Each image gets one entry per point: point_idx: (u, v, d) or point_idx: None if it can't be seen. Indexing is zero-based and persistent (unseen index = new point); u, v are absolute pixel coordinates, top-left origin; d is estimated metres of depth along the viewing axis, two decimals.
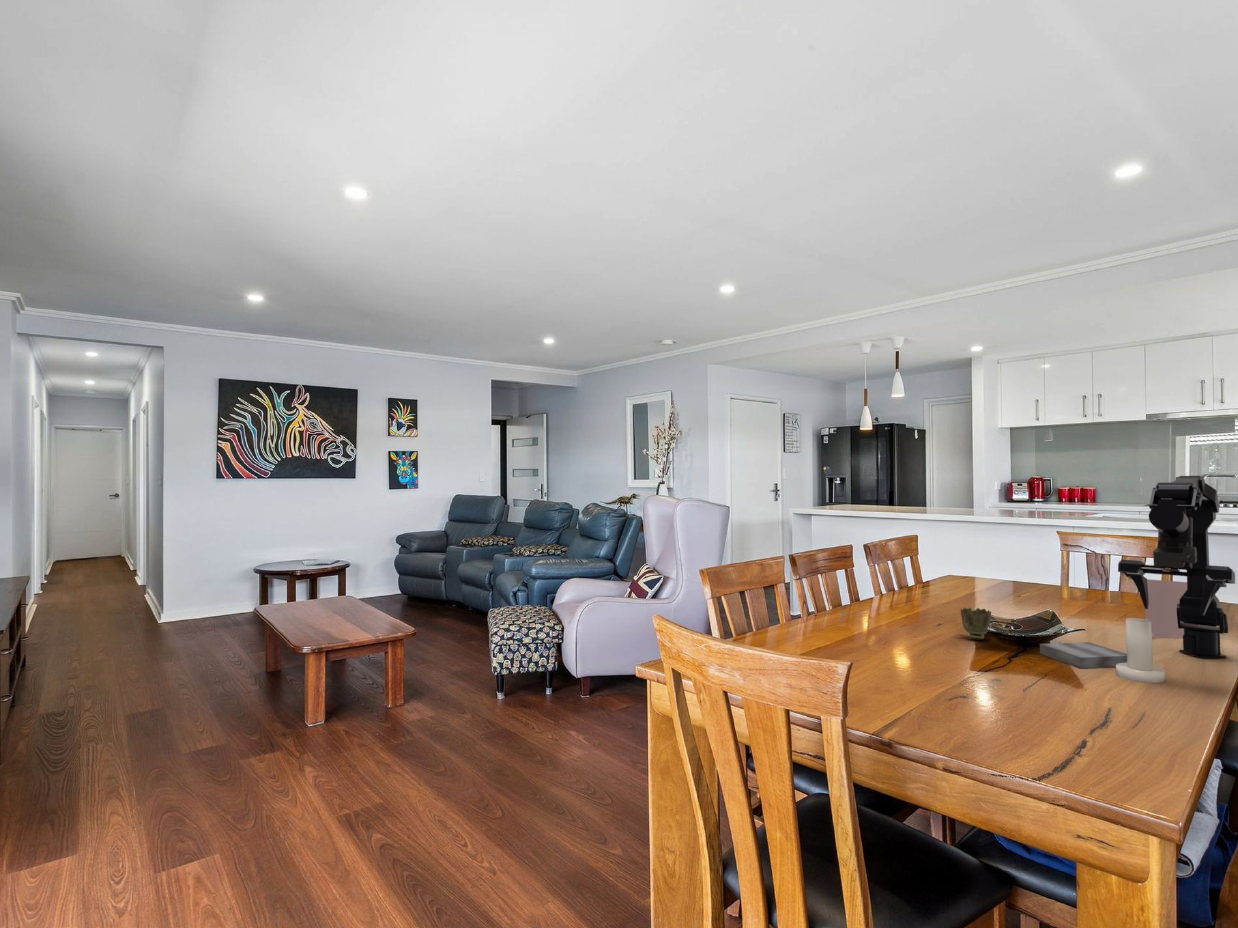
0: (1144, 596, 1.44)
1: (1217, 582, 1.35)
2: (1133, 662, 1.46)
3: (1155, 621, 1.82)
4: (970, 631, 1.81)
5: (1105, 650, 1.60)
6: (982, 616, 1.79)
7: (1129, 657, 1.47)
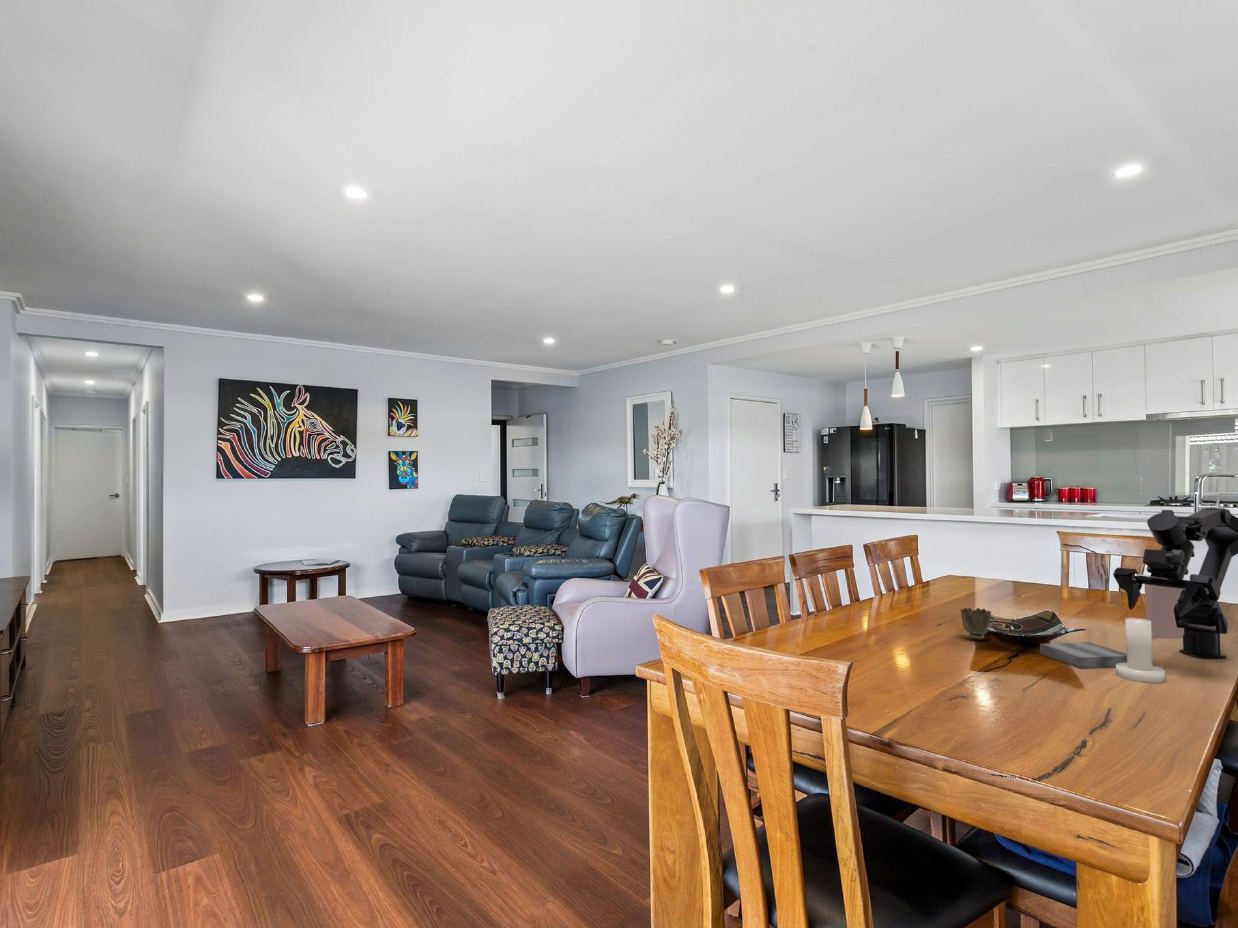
0: (1130, 597, 1.56)
1: (1197, 585, 1.46)
2: (1132, 662, 1.46)
3: (1155, 621, 1.82)
4: (970, 631, 1.81)
5: (1105, 650, 1.60)
6: (982, 616, 1.79)
7: (1129, 657, 1.47)
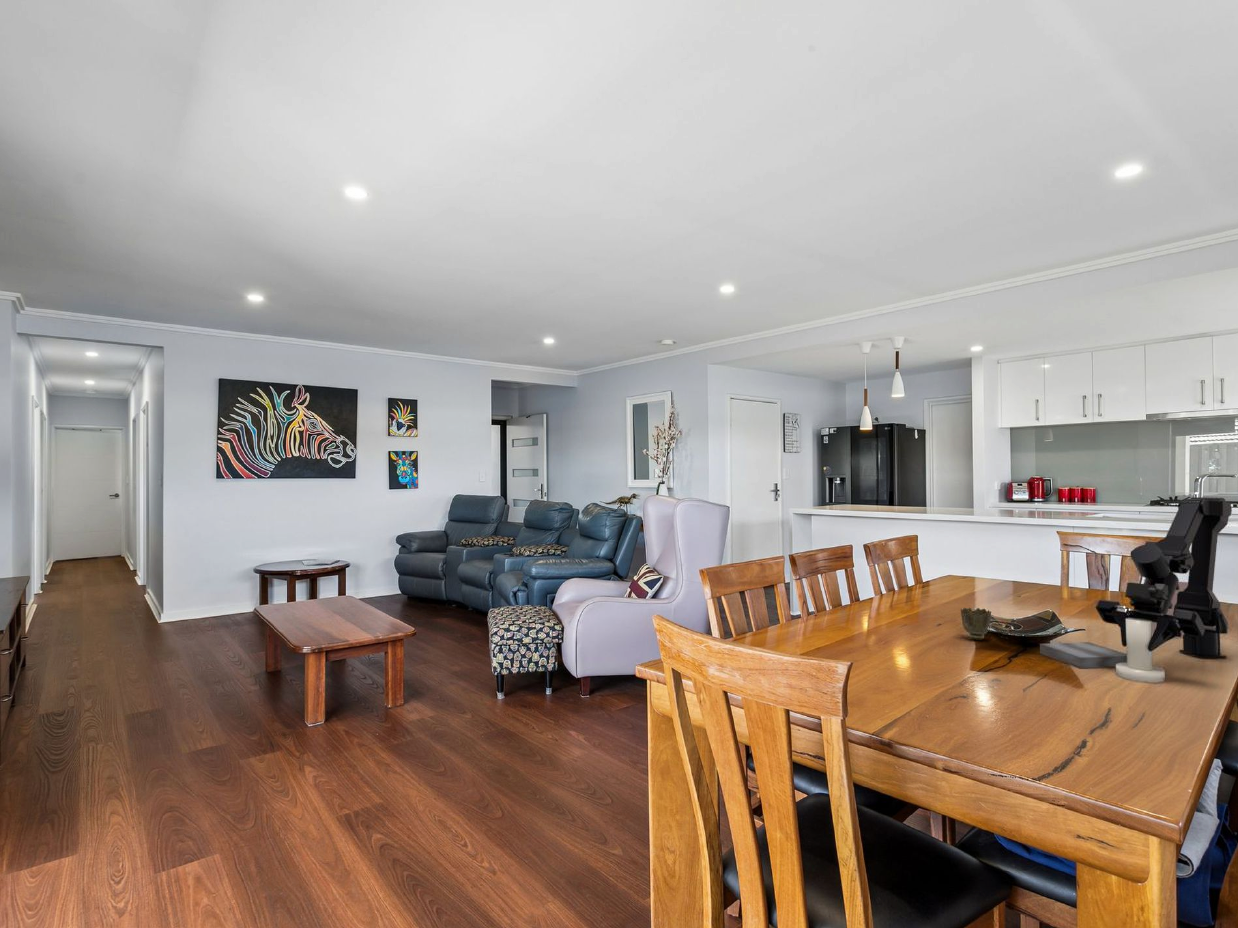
0: (1124, 633, 1.49)
1: (1168, 619, 1.43)
2: (1132, 662, 1.46)
3: None
4: (970, 631, 1.81)
5: (1105, 650, 1.60)
6: (982, 616, 1.79)
7: (1129, 657, 1.47)
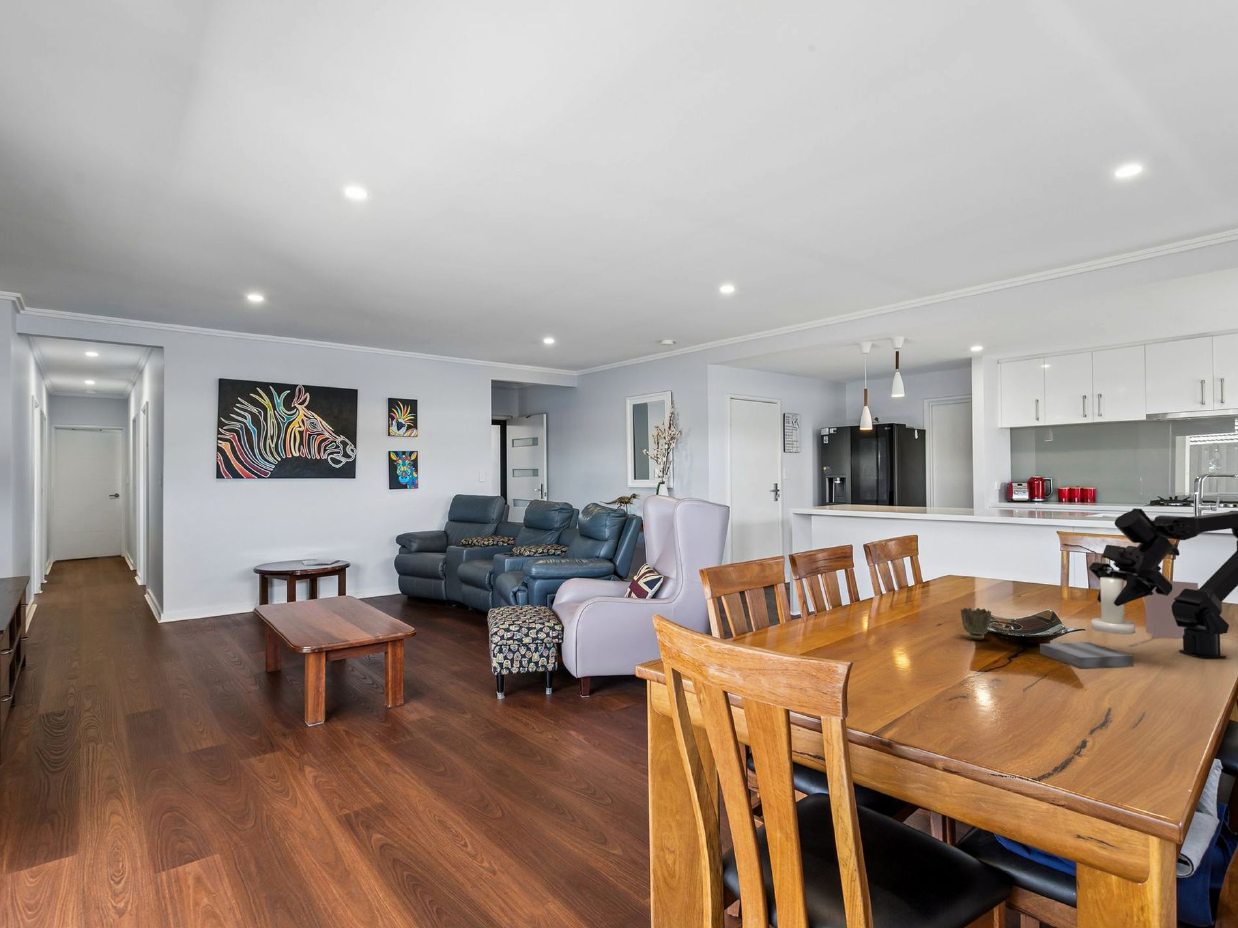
0: None
1: (1134, 578, 1.57)
2: (1102, 615, 1.62)
3: (1155, 621, 1.82)
4: (970, 631, 1.81)
5: (1105, 650, 1.60)
6: (982, 616, 1.79)
7: (1101, 611, 1.63)
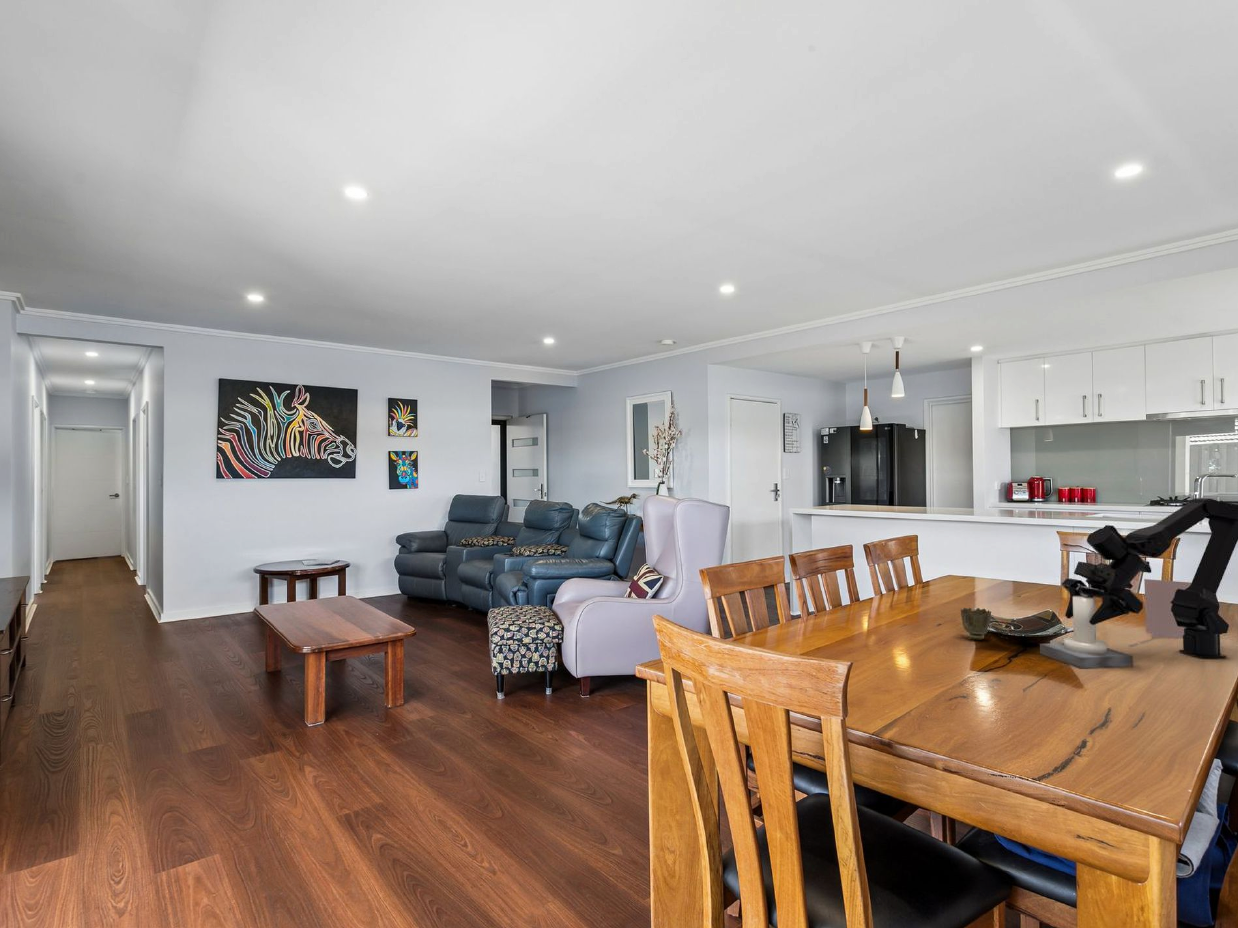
0: (1069, 606, 1.65)
1: (1109, 597, 1.55)
2: (1075, 635, 1.61)
3: (1155, 621, 1.82)
4: (970, 631, 1.81)
5: None
6: (982, 616, 1.79)
7: None
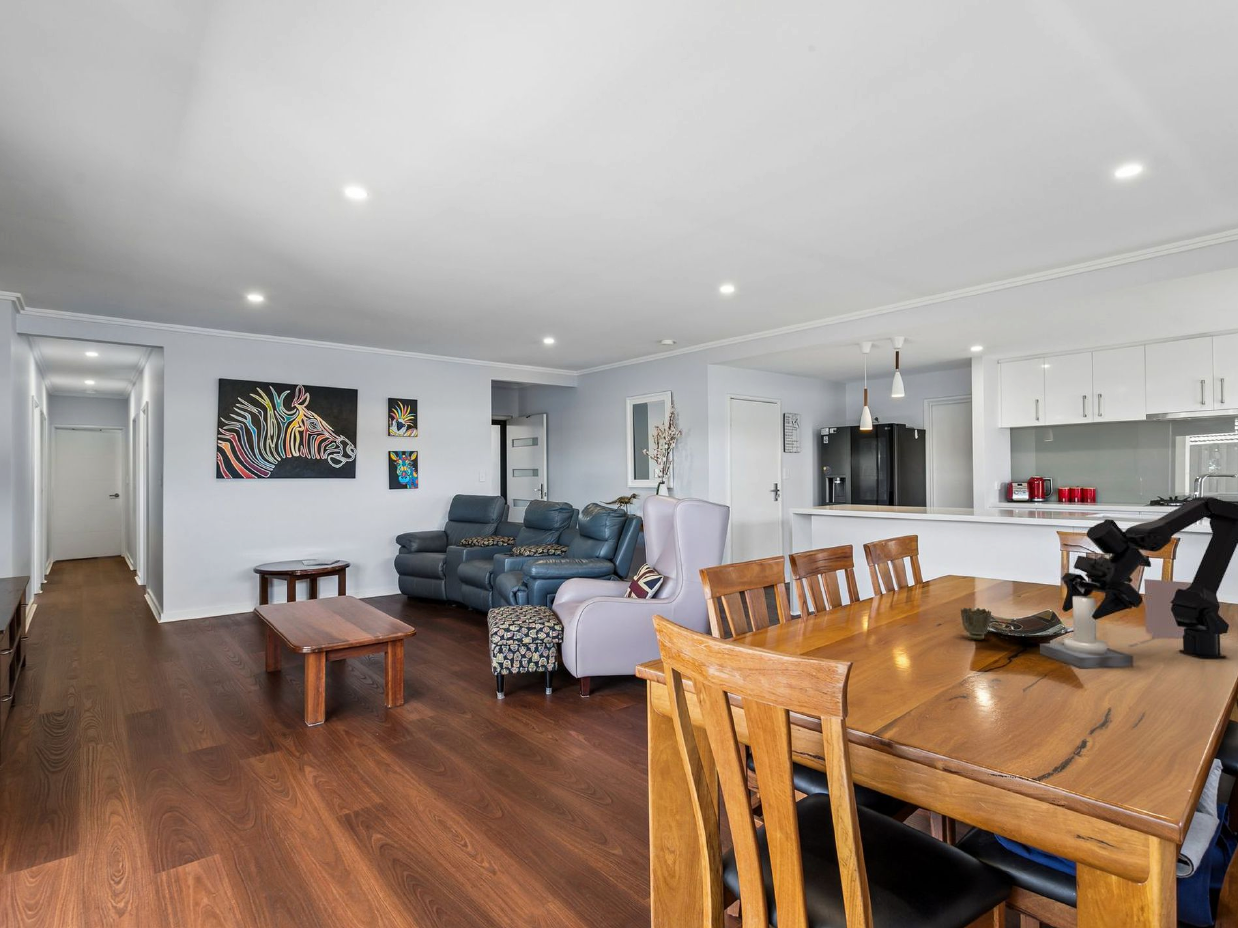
0: (1066, 600, 1.66)
1: (1112, 591, 1.54)
2: (1075, 635, 1.61)
3: (1155, 621, 1.82)
4: (970, 631, 1.81)
5: None
6: (982, 616, 1.79)
7: None
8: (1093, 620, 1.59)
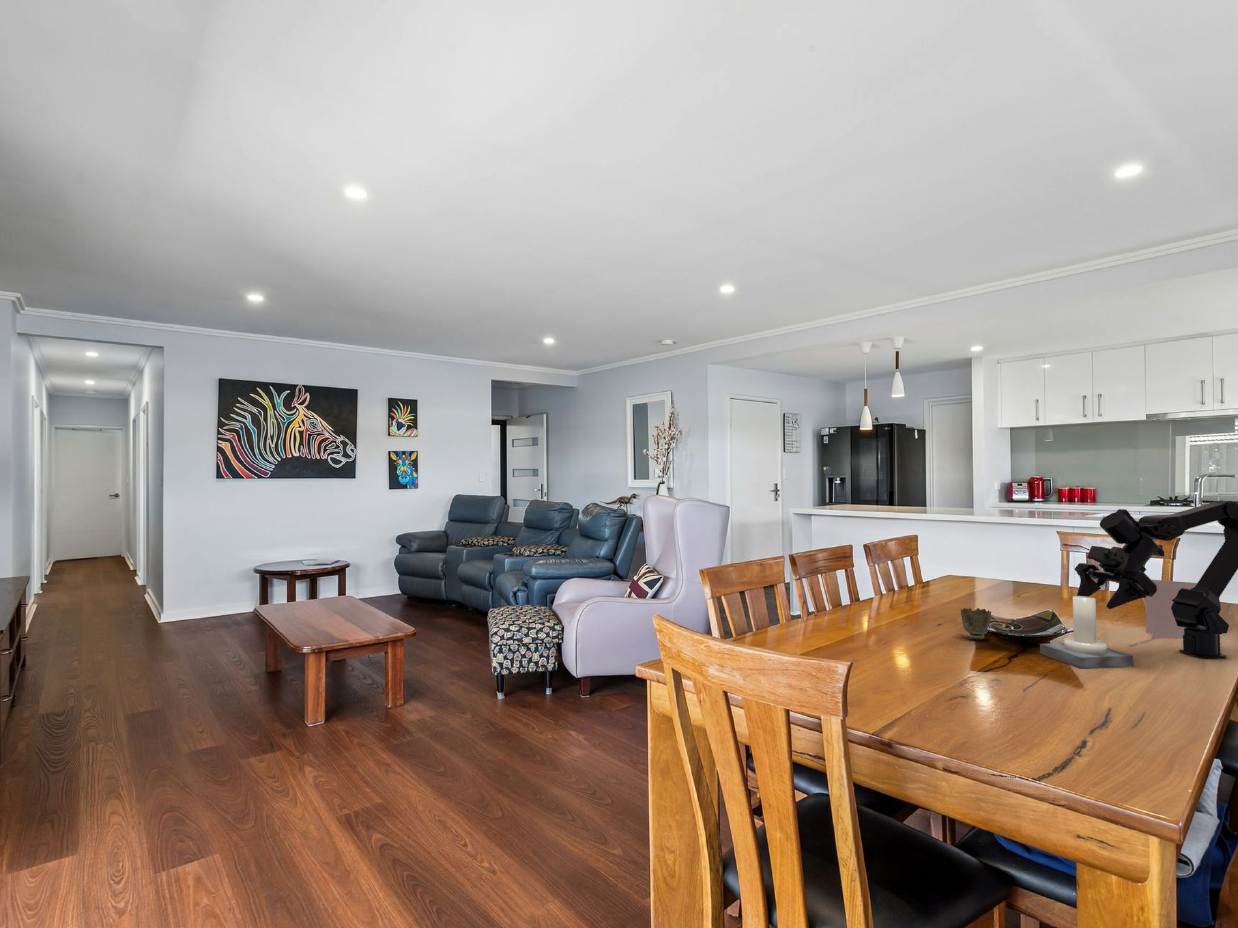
0: (1080, 590, 1.66)
1: (1127, 580, 1.54)
2: (1075, 635, 1.61)
3: (1155, 621, 1.82)
4: (970, 631, 1.81)
5: None
6: (982, 616, 1.79)
7: None
8: (1093, 620, 1.59)
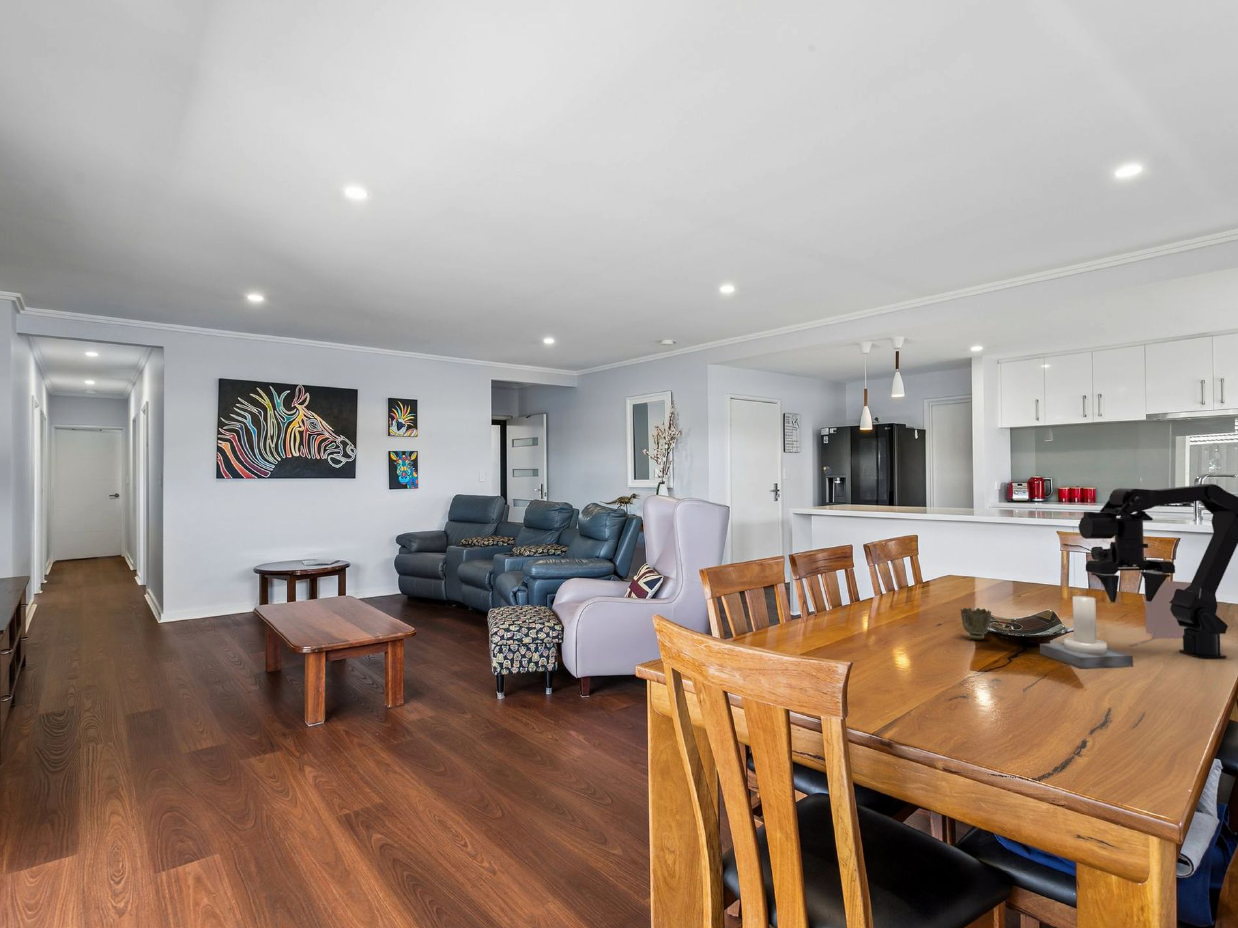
0: None
1: None
2: (1075, 635, 1.61)
3: (1155, 621, 1.82)
4: (970, 631, 1.81)
5: None
6: (982, 616, 1.79)
7: None
8: (1093, 620, 1.59)
